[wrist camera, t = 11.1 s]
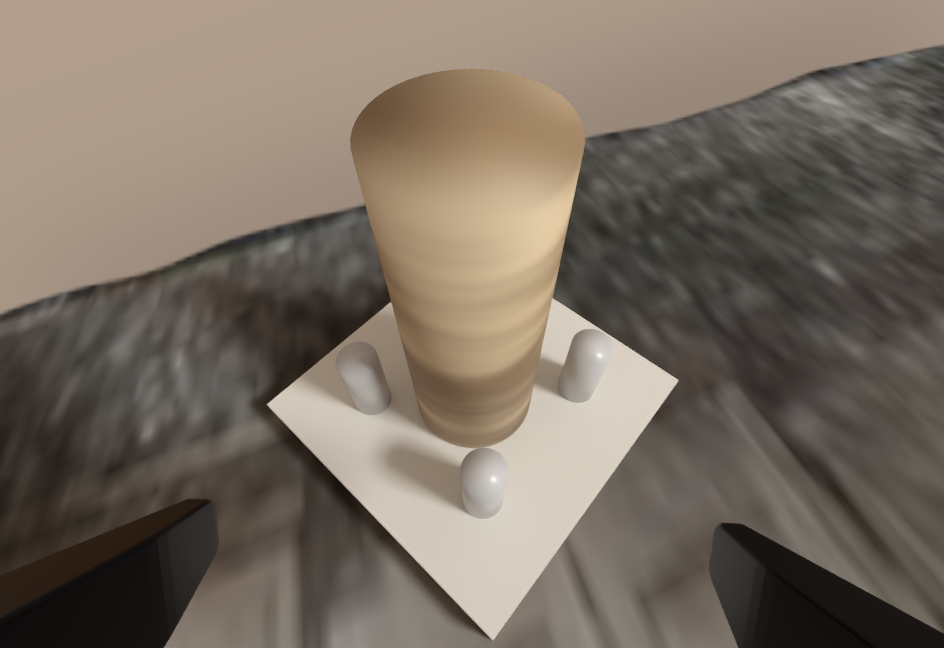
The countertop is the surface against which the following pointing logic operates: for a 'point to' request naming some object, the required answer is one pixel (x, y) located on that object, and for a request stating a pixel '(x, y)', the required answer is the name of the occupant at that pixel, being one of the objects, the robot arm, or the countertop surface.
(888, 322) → the countertop surface
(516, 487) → the pin plate
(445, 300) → the maple post
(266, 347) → the countertop surface
